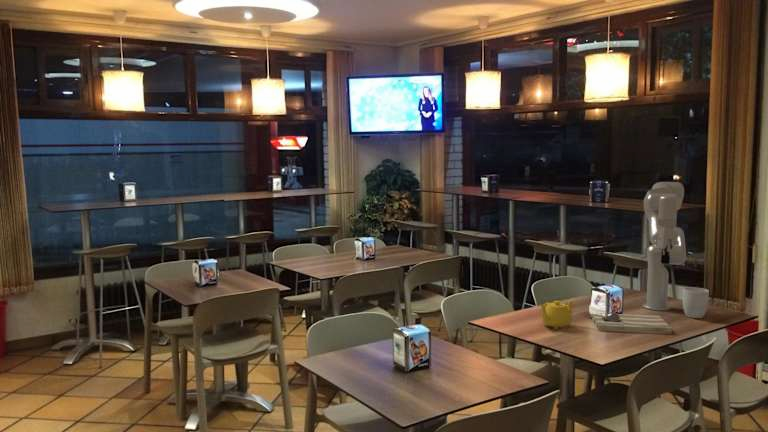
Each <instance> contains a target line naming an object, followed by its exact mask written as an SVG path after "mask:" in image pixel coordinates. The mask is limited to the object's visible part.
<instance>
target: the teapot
mask: <svg viewBox="0 0 768 432" xmlns="http://www.w3.org/2000/svg"><path fill="white" fill-rule="evenodd" d="M573 301H574V298H571V299H569V301H568V302H567V305H566V304H565V303H562V302H561V301H560V300H554V301H553V302H545V303H544V304H540V307H541V321H542V322H543V323H544V326H545V327H553V329H554V330H560V328H561V327H563V328H564V329H567V328H569V325H570V324H571V323H572V322H573V316H572V312H573V307H572V306H573V305H572V303H573Z"/></svg>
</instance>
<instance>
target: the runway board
mask: <svg viewBox="0 0 768 432" xmlns="http://www.w3.org/2000/svg"><path fill="white" fill-rule="evenodd" d="M593 313H594V312H591V314H590V315H591V316H590V318H592V319H591V320H592V322H593V323H594V325H595V327H596V329H597V330H598V331H599V332H618V333H620V332H621V333H641V334H642V333H643V334H661V335H672V332H673V328H672V326H670V325H669V324H668V323H667V321H665V320H664V319H663V318H662V317H661V316H660V315H648V314H643V315H642V314H623V313H619V314H618V313H617V314H618V315H619V317H620V322H606V316H602V315H598V314H593Z"/></svg>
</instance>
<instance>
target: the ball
mask: <svg viewBox="0 0 768 432" xmlns="http://www.w3.org/2000/svg"><path fill="white" fill-rule="evenodd" d="M606 314H607V315H606V322H620V317H619V315H618V313H616V312H614V311H610V312H608V313H606Z"/></svg>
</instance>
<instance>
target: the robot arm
mask: <svg viewBox="0 0 768 432" xmlns="http://www.w3.org/2000/svg"><path fill="white" fill-rule="evenodd" d="M684 196H685V187H684V185H683V184H682V183H681V182H678V181H676V182H675V181H659V182H656V183H655V184H653V185H652V187H651V189H649V190H648V191H647V192H646V194H645V196H644V198H643V211H644V213H645V216H646V219H647V220H648V233H649V241H650V243H651V244H650V245H648V247H647V249H646V257H647V260H646V261H647V283H646V302H644V303H643V304H642V307H643V308H645V309H647V310H653V311H658V312H659V311H660V312H661V311H662V312H663V311H664V312H666V311H670V310H671V306H670V305H669V304H668V295H669V294H668V292H669V276H670V275H669V274H670V273H669V271H668V269H667V268H666V267H665V265H675V266H676V265H677V266H678V265H679V266H680V265H683V264H685V262H686V260H687V253H686V252H687V250H686V237H685V233H684V230H683V229H682V228H681V227H677V219H678V218H677V215H678V211H679V210H680V209H681V208H682V204H683V200H684Z"/></svg>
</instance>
